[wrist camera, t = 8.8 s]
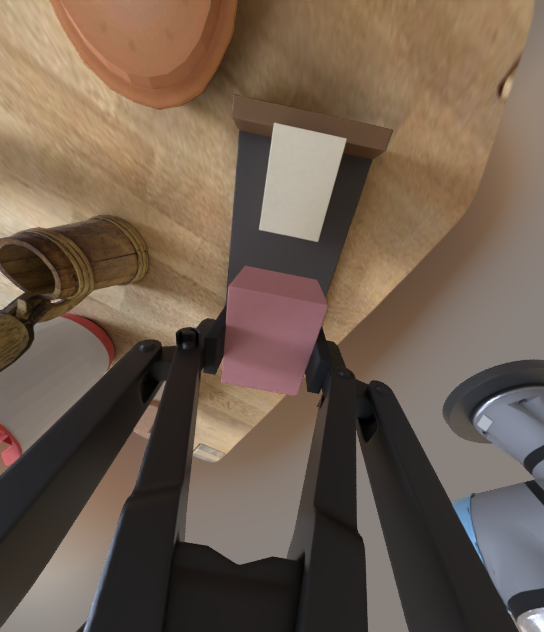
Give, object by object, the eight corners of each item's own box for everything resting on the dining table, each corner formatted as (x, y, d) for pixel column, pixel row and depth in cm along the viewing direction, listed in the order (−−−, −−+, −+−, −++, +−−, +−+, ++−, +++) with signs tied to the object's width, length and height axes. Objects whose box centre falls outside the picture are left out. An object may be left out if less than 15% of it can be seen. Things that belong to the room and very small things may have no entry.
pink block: (317, 279, 16) (329, 305, 11) (294, 355, 20) (296, 396, 15) (244, 265, 16) (228, 285, 11) (236, 344, 19) (220, 382, 15)
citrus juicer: (66, 373, 41) (-103, 495, 23) (22, 297, 33) (-289, 395, 15) (138, 381, 40) (22, 511, 23) (112, 306, 32) (-100, 418, 15)
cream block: (334, 155, 20) (347, 138, 16) (312, 236, 24) (318, 242, 19) (277, 142, 20) (274, 122, 15) (264, 226, 24) (258, 229, 19)
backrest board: (373, 145, 21) (393, 129, 17) (311, 332, 32) (314, 348, 28) (243, 117, 20) (232, 93, 16) (227, 315, 32) (218, 330, 28)
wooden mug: (83, 287, 31) (-133, 364, 15) (89, 201, 25) (-255, 179, 9) (138, 313, 33) (-5, 407, 17) (156, 237, 27) (-40, 273, 11)
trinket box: (208, 382, 39) (187, 427, 31) (196, 412, 44) (175, 458, 36) (156, 363, 38) (118, 405, 29) (149, 396, 42) (115, 441, 34)
